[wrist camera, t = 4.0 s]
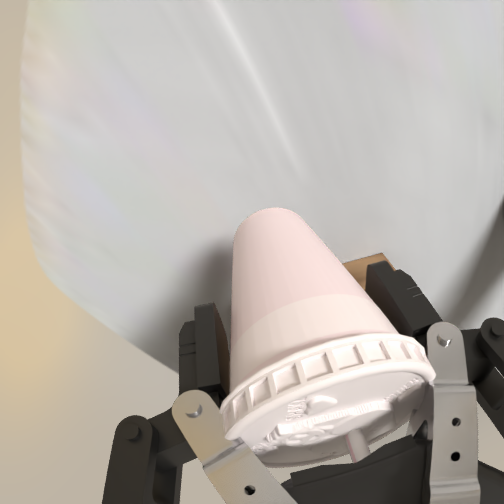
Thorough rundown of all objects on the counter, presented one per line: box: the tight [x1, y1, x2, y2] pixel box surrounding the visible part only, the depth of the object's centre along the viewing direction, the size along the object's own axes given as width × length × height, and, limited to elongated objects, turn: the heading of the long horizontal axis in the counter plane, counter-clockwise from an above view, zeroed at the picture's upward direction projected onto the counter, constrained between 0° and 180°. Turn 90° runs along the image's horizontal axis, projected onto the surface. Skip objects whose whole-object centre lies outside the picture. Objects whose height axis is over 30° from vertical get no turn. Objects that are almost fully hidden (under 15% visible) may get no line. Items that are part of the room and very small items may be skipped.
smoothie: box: [219, 208, 436, 468], centre depth 10 cm, size 6×6×14 cm
